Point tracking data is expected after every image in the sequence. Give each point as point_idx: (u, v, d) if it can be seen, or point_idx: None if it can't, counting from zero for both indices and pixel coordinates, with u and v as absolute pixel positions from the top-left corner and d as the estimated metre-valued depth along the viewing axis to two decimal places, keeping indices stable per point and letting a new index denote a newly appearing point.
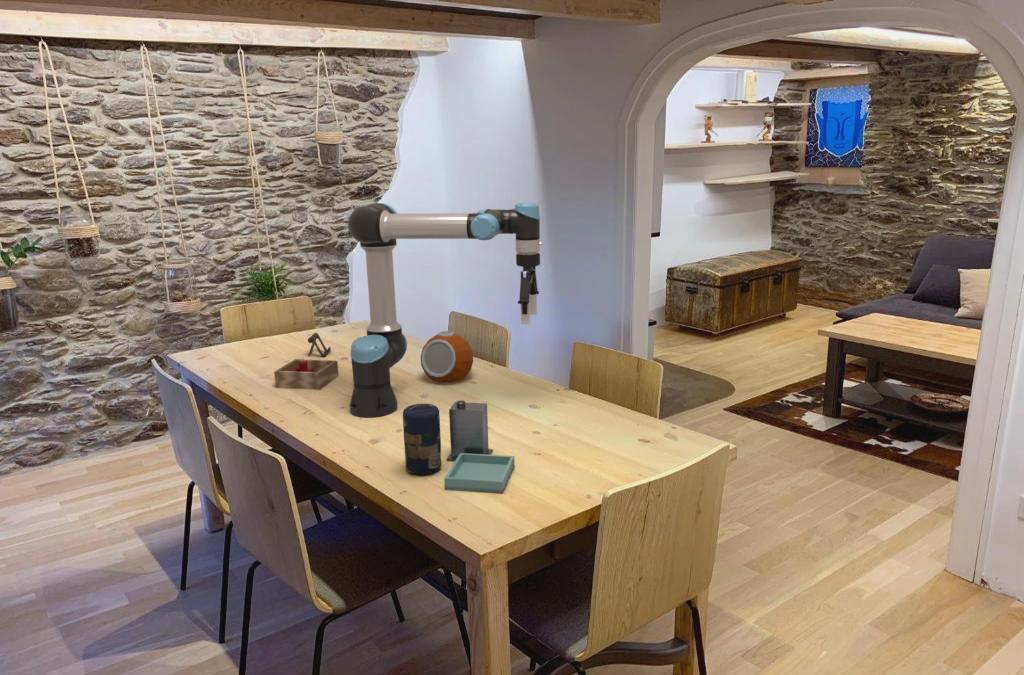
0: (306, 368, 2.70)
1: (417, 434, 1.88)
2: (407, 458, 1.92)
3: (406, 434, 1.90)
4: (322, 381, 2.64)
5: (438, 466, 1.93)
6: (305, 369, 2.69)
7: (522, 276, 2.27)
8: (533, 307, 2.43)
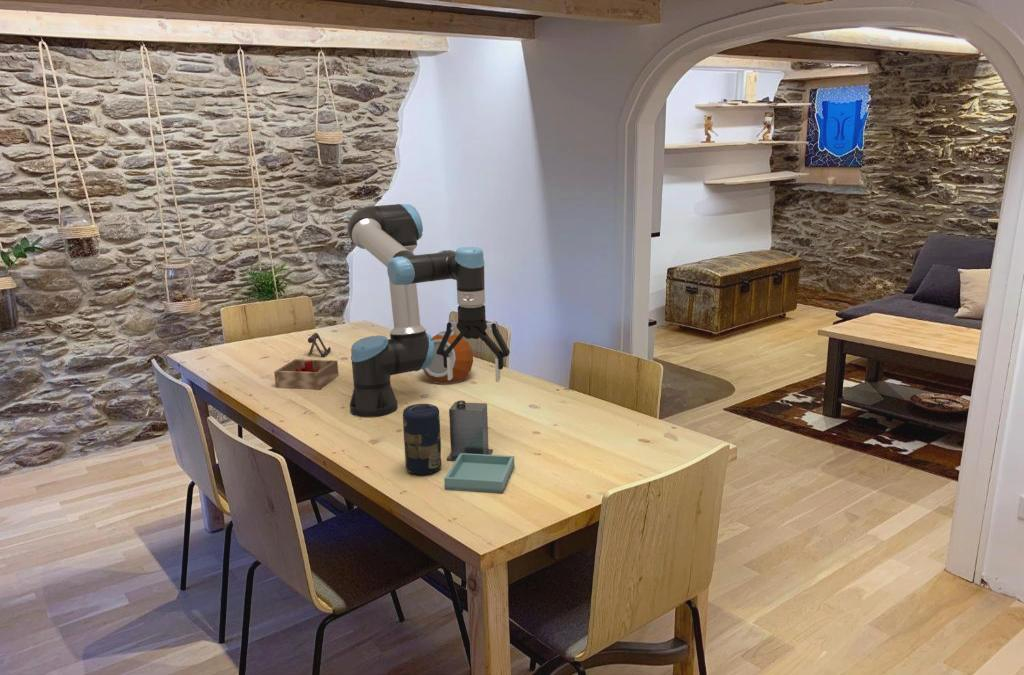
0: (311, 368, 2.70)
1: (417, 434, 1.88)
2: (407, 458, 1.92)
3: (406, 434, 1.90)
4: (322, 381, 2.64)
5: (438, 466, 1.93)
6: (310, 368, 2.70)
7: None
8: None
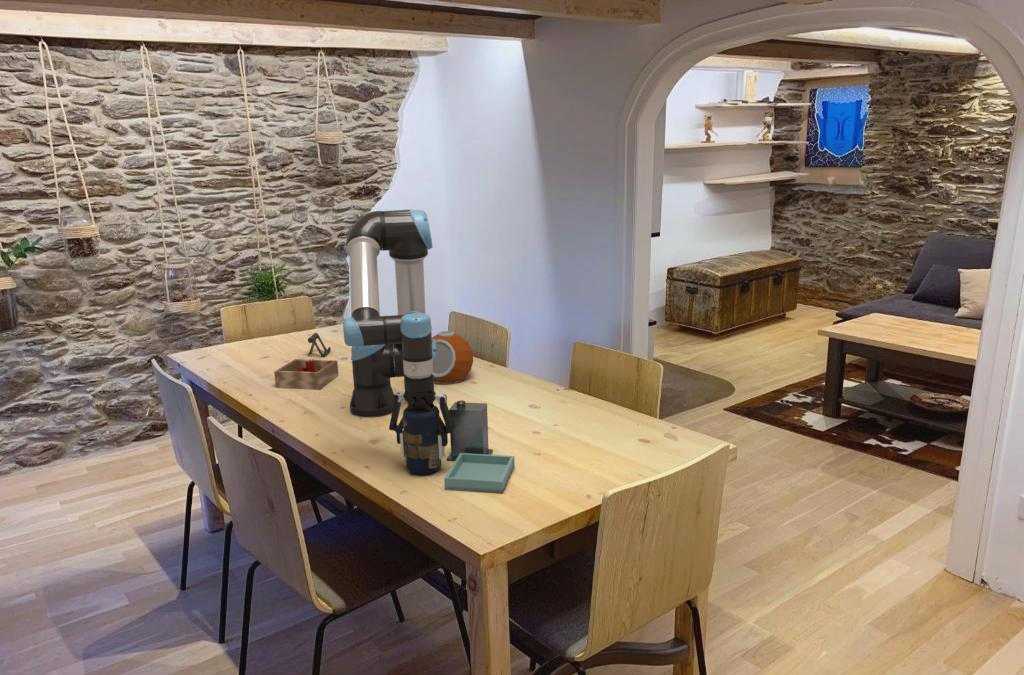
0: (312, 367, 2.70)
1: (417, 434, 1.88)
2: (407, 458, 1.92)
3: (406, 434, 1.90)
4: (322, 381, 2.64)
5: (438, 466, 1.93)
6: (312, 368, 2.70)
7: None
8: None
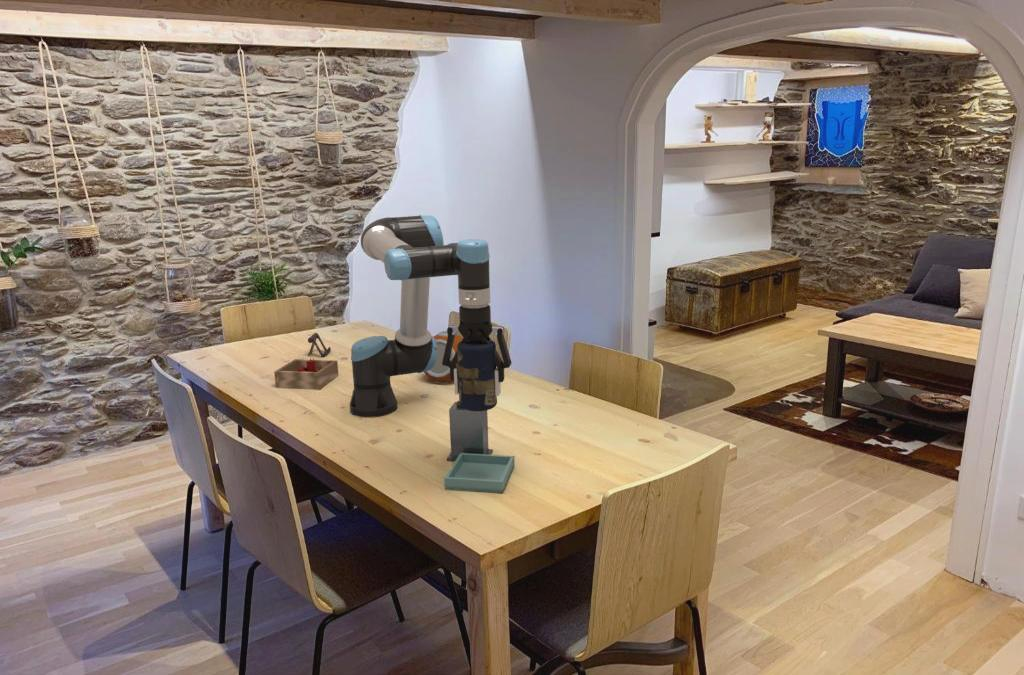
0: (313, 367, 2.71)
1: (473, 368, 1.77)
2: (462, 394, 1.81)
3: (461, 368, 1.79)
4: (322, 381, 2.64)
5: (494, 403, 1.82)
6: (313, 368, 2.70)
7: None
8: None
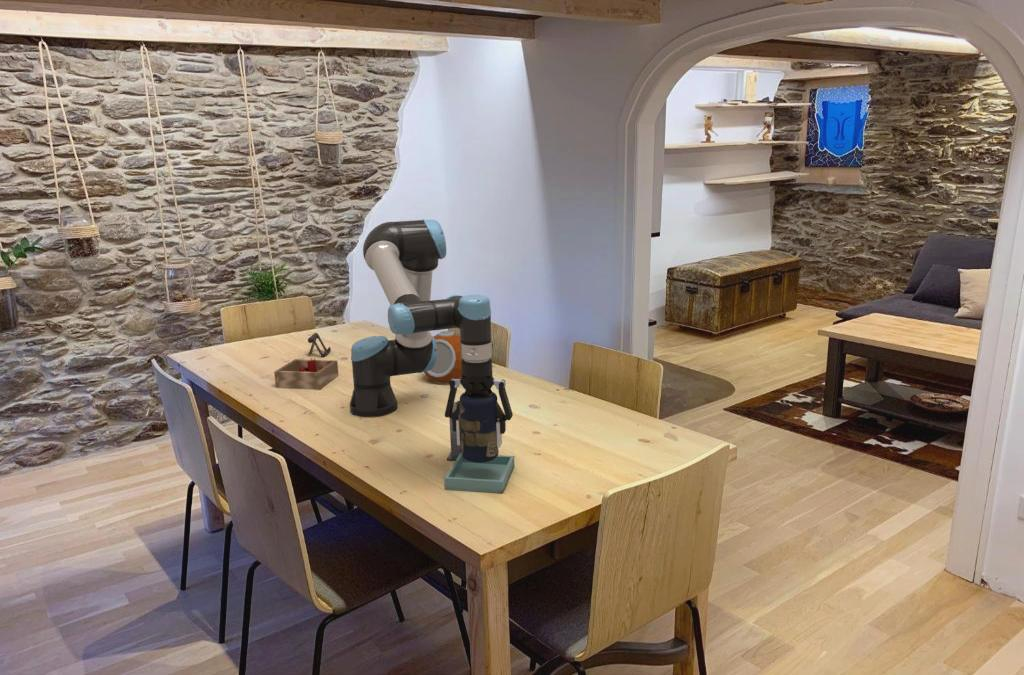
0: (314, 367, 2.71)
1: (475, 421, 1.81)
2: (464, 446, 1.84)
3: (463, 421, 1.83)
4: (322, 381, 2.64)
5: (496, 454, 1.86)
6: (314, 368, 2.71)
7: None
8: None
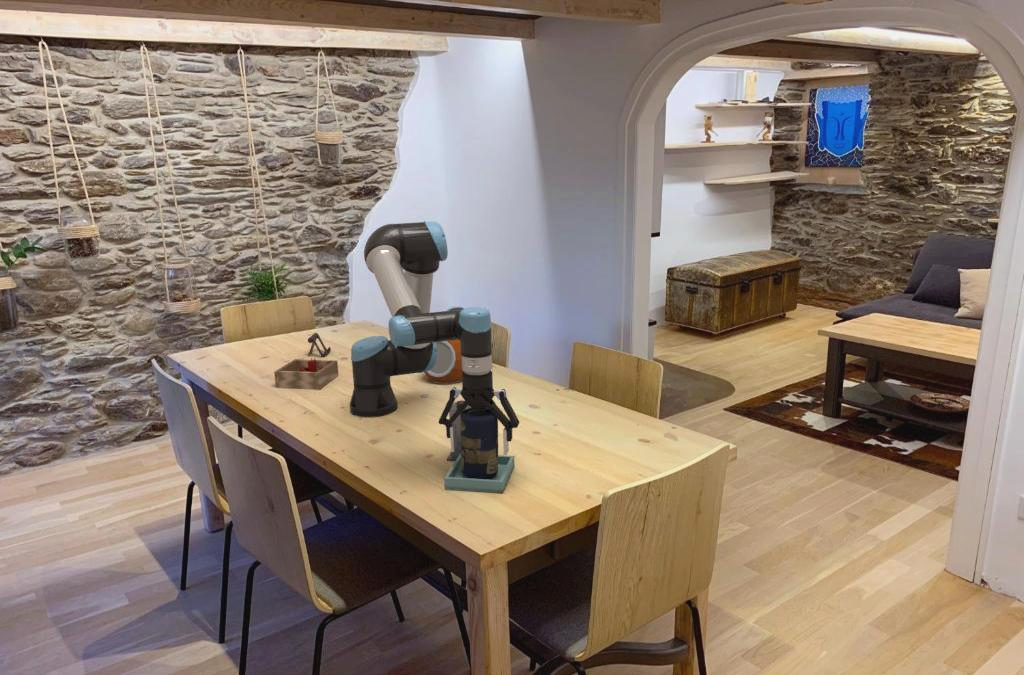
0: (315, 367, 2.71)
1: (476, 438, 1.82)
2: (464, 463, 1.86)
3: (464, 438, 1.84)
4: (322, 381, 2.64)
5: (496, 471, 1.87)
6: (314, 368, 2.71)
7: None
8: None
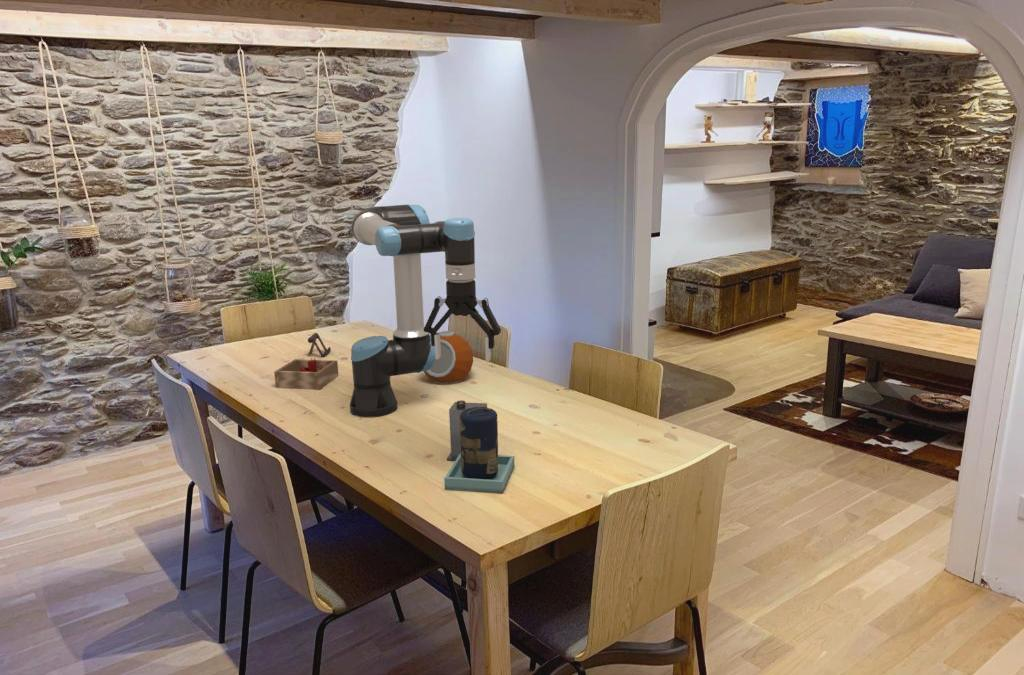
0: (315, 367, 2.71)
1: (476, 439, 1.82)
2: (464, 463, 1.86)
3: (464, 438, 1.84)
4: (322, 381, 2.64)
5: (496, 471, 1.87)
6: (314, 368, 2.71)
7: None
8: None
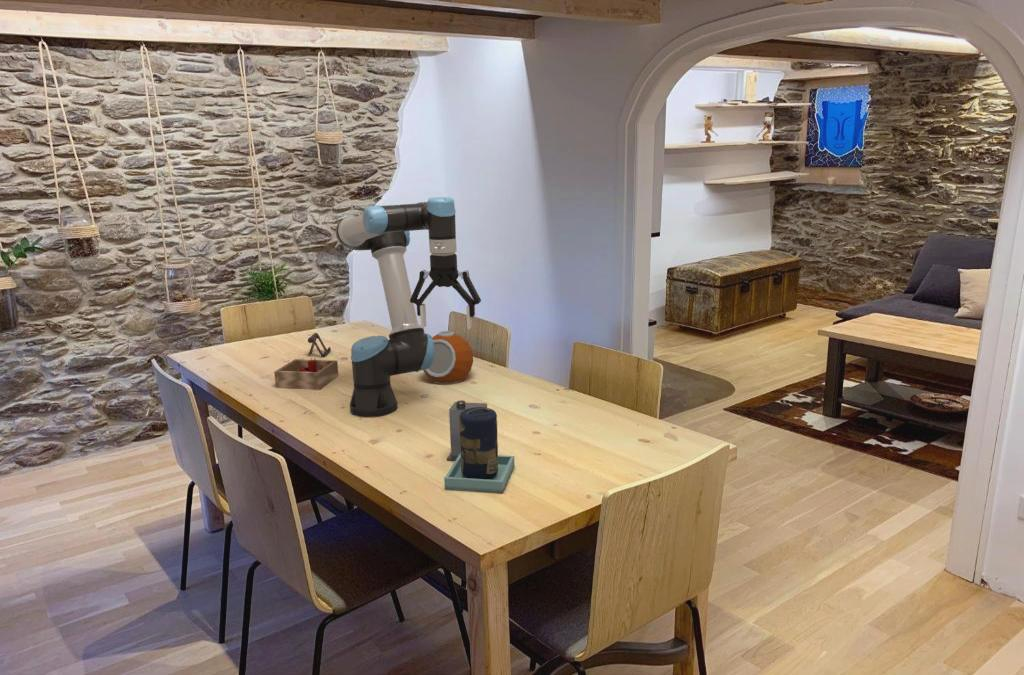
0: (315, 367, 2.71)
1: (475, 439, 1.82)
2: (464, 463, 1.86)
3: (463, 439, 1.84)
4: (322, 381, 2.64)
5: (496, 471, 1.87)
6: (314, 368, 2.71)
7: None
8: None
